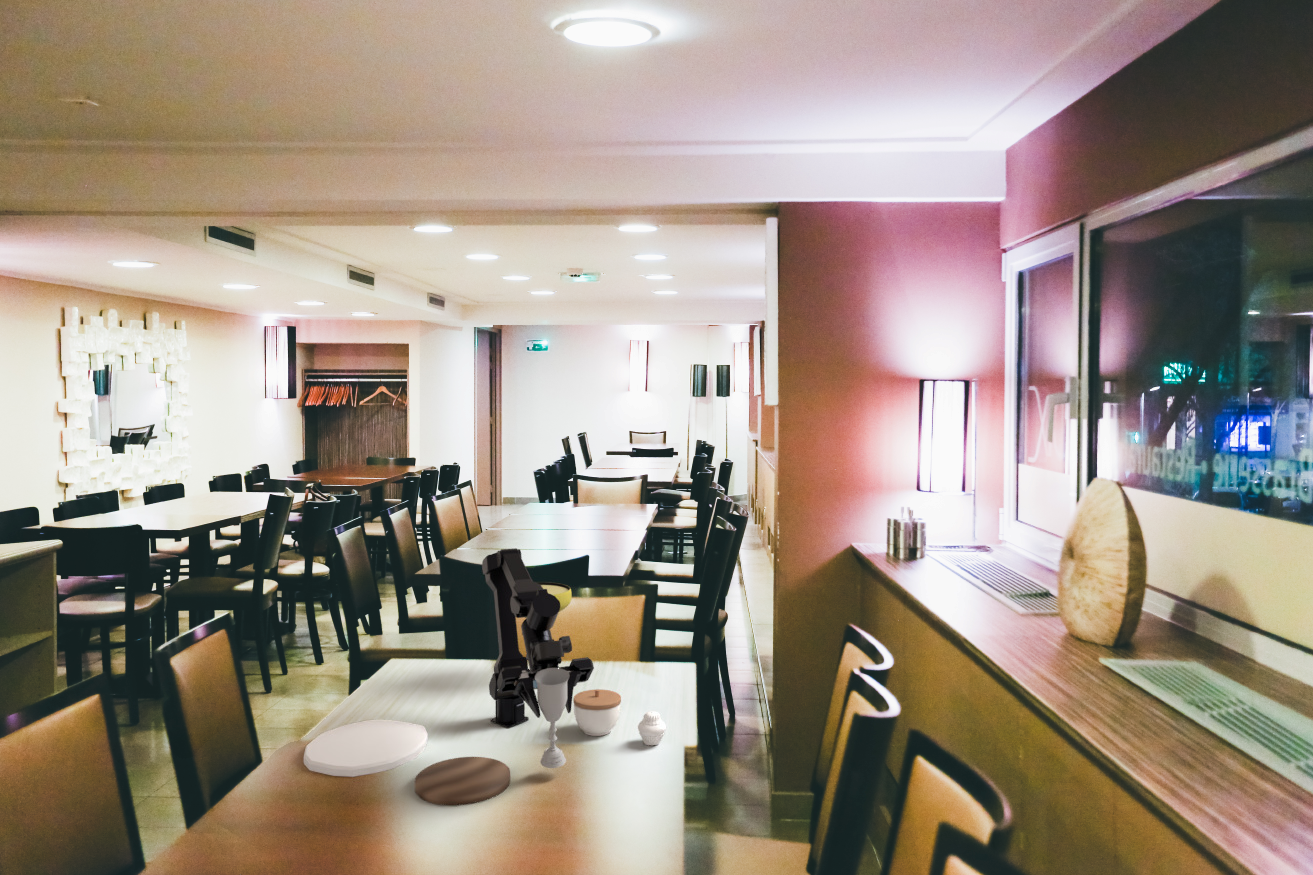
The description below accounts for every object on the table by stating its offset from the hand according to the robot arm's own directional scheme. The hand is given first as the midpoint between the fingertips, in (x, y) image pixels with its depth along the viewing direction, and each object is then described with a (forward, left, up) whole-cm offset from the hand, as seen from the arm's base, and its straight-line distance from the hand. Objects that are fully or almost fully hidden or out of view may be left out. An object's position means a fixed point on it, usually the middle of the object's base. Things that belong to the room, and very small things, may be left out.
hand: (554, 714), depth 162 cm
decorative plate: (-42, -13, -14) cm, 47 cm away
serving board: (-14, -11, -13) cm, 22 cm away
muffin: (+3, +27, -13) cm, 30 cm away
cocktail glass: (-46, +41, -13) cm, 63 cm away
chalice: (-2, +2, -11) cm, 11 cm away
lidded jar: (-11, +25, -13) cm, 30 cm away
